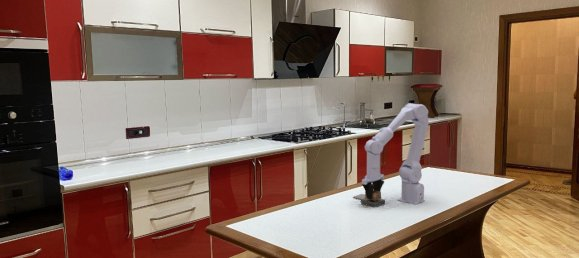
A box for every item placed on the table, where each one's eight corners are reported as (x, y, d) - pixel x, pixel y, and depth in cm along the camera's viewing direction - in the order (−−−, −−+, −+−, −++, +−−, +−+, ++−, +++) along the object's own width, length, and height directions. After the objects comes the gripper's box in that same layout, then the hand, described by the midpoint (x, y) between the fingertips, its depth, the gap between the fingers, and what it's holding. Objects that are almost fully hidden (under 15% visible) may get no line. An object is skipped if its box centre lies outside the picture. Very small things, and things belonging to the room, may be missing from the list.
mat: (374, 197, 200) (374, 196, 200) (365, 200, 195) (365, 199, 195) (361, 195, 205) (361, 193, 204) (352, 198, 200) (352, 196, 200)
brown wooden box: (381, 198, 190) (381, 191, 190) (374, 200, 186) (374, 193, 186) (371, 196, 193) (371, 189, 193) (365, 198, 190) (365, 191, 190)
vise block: (385, 203, 190) (385, 194, 189) (376, 207, 185) (376, 197, 184) (369, 200, 195) (369, 190, 195) (360, 203, 191) (360, 193, 190)
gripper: (374, 163, 196) (374, 192, 198) (356, 168, 186) (355, 199, 188) (388, 165, 191) (387, 195, 193) (369, 170, 181) (369, 202, 183)
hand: (373, 197), depth 190 cm, fingers closed on brown wooden box, 5 cm apart
